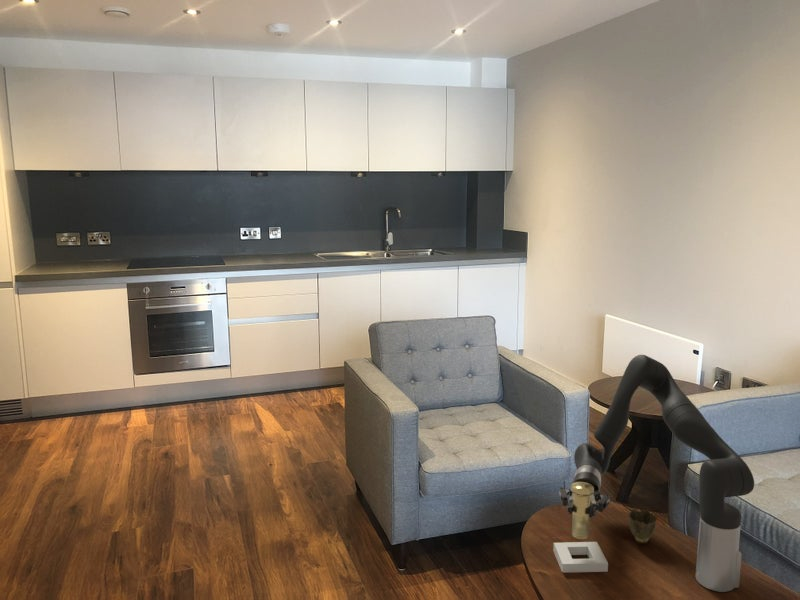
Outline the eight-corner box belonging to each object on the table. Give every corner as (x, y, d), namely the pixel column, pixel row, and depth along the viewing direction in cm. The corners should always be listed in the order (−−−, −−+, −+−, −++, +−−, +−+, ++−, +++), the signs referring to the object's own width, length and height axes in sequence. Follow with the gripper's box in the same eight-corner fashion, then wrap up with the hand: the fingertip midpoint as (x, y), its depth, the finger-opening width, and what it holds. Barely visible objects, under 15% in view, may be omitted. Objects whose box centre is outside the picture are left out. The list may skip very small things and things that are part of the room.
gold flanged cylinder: (588, 528, 181) (590, 481, 178) (594, 540, 175) (596, 492, 172) (566, 529, 181) (568, 481, 178) (572, 541, 175) (574, 492, 172)
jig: (596, 549, 184) (596, 541, 184) (607, 571, 175) (608, 563, 174) (553, 550, 184) (553, 542, 184) (562, 572, 175) (562, 564, 174)
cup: (651, 534, 192) (652, 508, 190) (658, 548, 184) (660, 522, 183) (624, 533, 192) (626, 508, 191) (631, 547, 185) (632, 521, 184)
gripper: (561, 467, 191) (553, 495, 176) (613, 474, 186) (609, 504, 171) (561, 491, 193) (552, 521, 177) (612, 499, 188) (608, 530, 172)
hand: (580, 512), depth 174 cm, fingers closed on gold flanged cylinder, 4 cm apart
